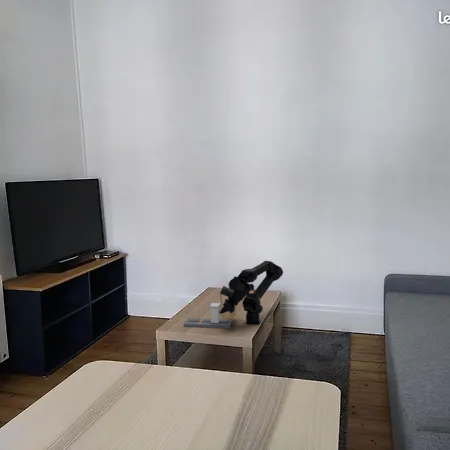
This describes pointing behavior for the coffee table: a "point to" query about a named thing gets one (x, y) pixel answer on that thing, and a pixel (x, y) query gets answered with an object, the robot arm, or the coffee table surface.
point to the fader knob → (215, 312)
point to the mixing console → (207, 323)
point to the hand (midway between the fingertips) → (220, 313)
